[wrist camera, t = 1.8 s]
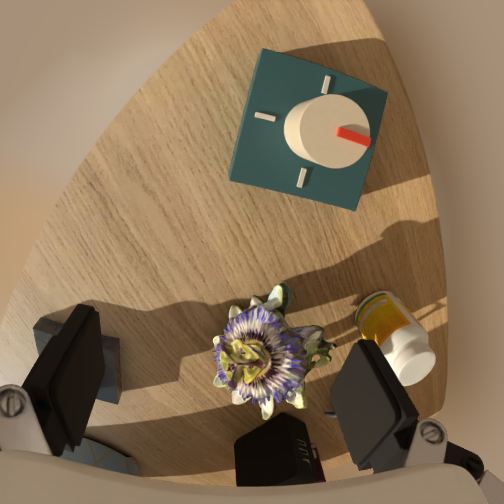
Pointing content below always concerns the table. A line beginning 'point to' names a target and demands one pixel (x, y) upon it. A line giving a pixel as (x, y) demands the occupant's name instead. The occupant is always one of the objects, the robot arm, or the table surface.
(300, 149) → the program dial
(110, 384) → the housing
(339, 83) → the dial panel
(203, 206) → the table surface
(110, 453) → the planter
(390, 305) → the supplement bottle
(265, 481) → the electronic device
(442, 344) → the table surface
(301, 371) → the passion flower
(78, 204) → the table surface
